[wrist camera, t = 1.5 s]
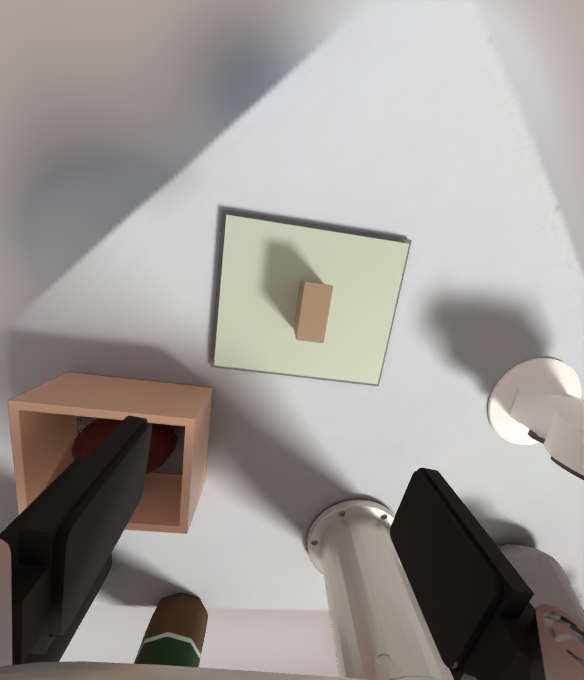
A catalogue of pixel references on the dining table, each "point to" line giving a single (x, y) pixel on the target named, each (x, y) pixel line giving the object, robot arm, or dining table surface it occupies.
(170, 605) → the beer bottle
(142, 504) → the wooden cubby box
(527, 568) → the coffee pot
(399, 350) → the dining table surface
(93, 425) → the potato
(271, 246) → the lid
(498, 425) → the panda figurine
